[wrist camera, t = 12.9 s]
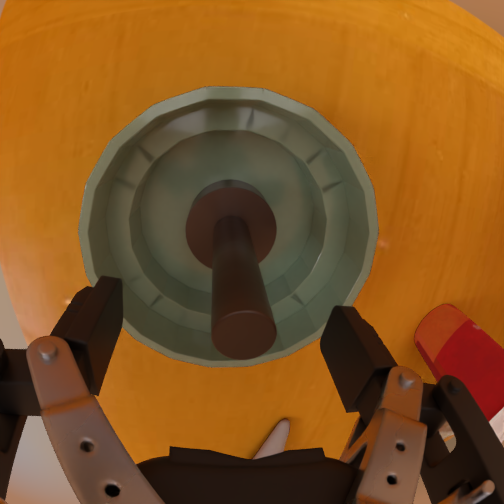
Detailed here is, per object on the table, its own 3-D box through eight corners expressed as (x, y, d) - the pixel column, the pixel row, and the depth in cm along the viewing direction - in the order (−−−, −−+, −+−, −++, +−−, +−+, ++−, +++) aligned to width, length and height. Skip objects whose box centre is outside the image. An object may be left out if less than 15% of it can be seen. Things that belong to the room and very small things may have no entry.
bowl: (75, 195, 18) (30, 224, 12) (259, 55, 16) (278, 26, 10) (205, 341, 24) (204, 397, 18) (369, 240, 22) (410, 278, 16)
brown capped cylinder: (172, 210, 19) (123, 321, 8) (240, 162, 18) (272, 221, 7) (220, 270, 21) (226, 408, 10) (284, 228, 20) (351, 343, 9)
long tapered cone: (241, 447, 25) (233, 510, 31) (301, 438, 27) (275, 504, 32) (230, 409, 30) (225, 482, 36) (284, 402, 32) (265, 476, 38)
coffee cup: (453, 343, 29) (519, 430, 15) (398, 364, 28) (461, 471, 15) (471, 285, 25) (561, 372, 12) (412, 303, 25) (506, 420, 11)
